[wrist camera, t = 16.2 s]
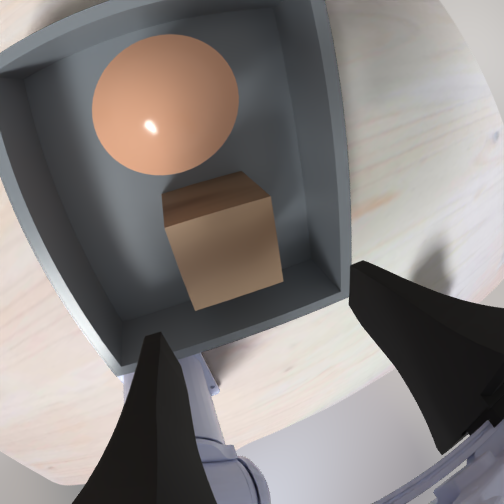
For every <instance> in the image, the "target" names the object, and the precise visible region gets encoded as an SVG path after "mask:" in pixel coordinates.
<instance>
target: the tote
mask: <svg viewBox="0 0 504 504" xmlns="http://www.w3.org/2000/svg"><path fill="white" fill-rule="evenodd" d="M166 34H175V35H184V36H189V37H192V38H195V39H198V40H200V41H202V42H204V43H206V44H208V45H209V46H211V47H212V48H214V49H215V50H216V51H217V52H218V53H219V54H220V55H221V56H222V57H223V58H224V59H225V60H226V62H227V63H228V65H229V66H230V68H231V70H232V72H233V74H234V76H235V79H236V83H237V86H238V94H239V106H238V113H237V117H236V121H235V124H234V126H233V128H232V131H231V133H230V134H229V136H228V138H227V140H226V141H225V142H224V144H223V145H222V146H221V147H220V148H219V150H218V151H217V152H216V153H215V154H214V155H212V156H211V157H210V158H209V159H208V160H206V161H204V162H203V163H201V164H200V165H198V166H196V167H194V168H192V169H190V170H187V171H184V172H181V173H176V174H171V175H149V174H144V173H140V172H136V171H134V170H132V169H129V168H127V167H125V166H124V165H122V164H120V163H119V162H118V161H116V160H115V159H114V158H113V157H112V156H111V155H110V154H109V153H108V152H107V151H106V150H105V148H104V147H103V145H102V144H101V142H100V140H99V138H98V136H97V134H96V131H95V128H94V123H93V118H92V103H93V96H94V92H95V88H96V86H97V83H98V80H99V79H100V77H101V75H102V73H103V71H104V70H105V68H106V67H107V66H108V64H109V63H110V62H111V61H112V60H113V59H114V58H115V57H116V56H117V55H118V54H119V53H120V52H122V51H123V50H124V49H126V48H127V47H129V46H130V45H132V44H134V43H136V42H138V41H140V40H143V39H146V38H149V37H152V36H157V35H166ZM239 171H242V172H243V173H245V174H246V175H247V176H248V177H249V178H250V179H252V180H253V181H254V182H255V183H256V184H257V185H258V186H260V187H261V188H262V189H263V190H264V191H265V192H266V193H268V194H269V195H270V196H271V201H272V207H273V214H274V220H275V227H276V233H277V240H278V247H279V254H280V261H281V268H282V275H283V282H281V283H278V284H275V285H272V286H269V287H266V288H263V289H260V290H257V291H254V292H251V293H248V294H245V295H242V296H239V297H236V298H233V299H230V300H227V301H224V302H221V303H218V304H215V305H212V306H209V307H206V308H203V309H200V310H197V311H195V309H194V307H193V304H192V302H191V299H190V297H189V294H188V291H187V289H186V286H185V284H184V281H183V278H182V276H181V273H180V270H179V267H178V265H177V262H176V259H175V256H174V254H173V251H172V248H171V245H170V242H169V239H168V237H167V234H166V231H165V227H164V217H163V207H162V195H161V194H163V193H166V192H170V191H173V190H176V189H179V188H182V187H186V186H189V185H192V184H196V183H199V182H203V181H206V180H210V179H213V178H217V177H220V176H224V175H228V174H232V173H235V172H239ZM0 177H1V180H2V182H3V185H4V188H5V190H6V193H7V195H8V198H9V200H10V203H11V205H12V207H13V210H14V212H15V214H16V217H17V219H18V221H19V223H20V225H21V228H22V230H23V232H24V234H25V236H26V238H27V240H28V242H29V244H30V246H31V248H32V250H33V252H34V254H35V256H36V258H37V259H38V261H39V263H40V265H41V267H42V269H43V270H44V272H45V274H46V276H47V277H48V279H49V281H50V283H51V284H52V286H53V288H54V289H55V291H56V293H57V294H58V296H59V298H60V299H61V301H62V302H63V304H64V305H65V307H66V309H67V310H68V312H69V313H70V315H71V316H72V318H73V319H74V321H75V322H76V324H77V325H78V327H79V328H80V329H81V331H82V332H83V334H84V335H85V336H86V338H87V339H88V341H89V342H90V343H91V345H92V346H93V347H94V349H95V350H96V351H97V353H98V354H99V355H100V357H101V358H102V359H103V360H104V362H105V363H106V364H107V366H108V367H109V368H110V369H111V371H112V372H113V373H114V374H115V375H116V377H117V376H121V375H125V374H129V373H133V372H135V369H136V366H137V362H138V359H139V355H140V351H141V347H142V344H143V340H144V338H145V336H147V335H151V334H154V333H157V332H162V334H163V336H164V337H165V339H166V341H167V343H168V344H169V346H170V348H171V350H172V351H173V353H174V355H175V356H176V358H177V360H178V359H182V358H185V357H188V356H191V355H195V354H198V353H201V352H204V351H207V350H210V349H213V348H216V347H219V346H222V345H225V344H228V343H231V342H234V341H237V340H240V339H243V338H246V337H248V336H251V335H254V334H257V333H259V332H262V331H265V330H268V329H270V328H273V327H276V326H278V325H281V324H284V323H286V322H289V321H291V320H294V319H297V318H299V317H302V316H304V315H307V314H309V313H312V312H314V311H317V310H319V309H321V308H324V307H326V306H329V305H331V304H334V303H336V302H338V301H341V300H343V299H345V298H348V297H349V285H350V265H351V201H350V180H349V164H348V151H347V139H346V129H345V119H344V110H343V102H342V94H341V87H340V80H339V73H338V66H337V60H336V54H335V49H334V43H333V38H332V32H331V27H330V22H329V18H328V13H327V8H326V4H325V0H109V1H106V2H103V3H100V4H98V5H95V6H92V7H90V8H87V9H85V10H82V11H80V12H77V13H75V14H72V15H70V16H68V17H66V18H63V19H61V20H59V21H57V22H55V23H53V24H51V25H49V26H47V27H45V28H43V29H41V30H39V31H37V32H35V33H33V34H31V35H29V36H28V37H26V38H24V39H22V40H21V41H19V42H17V43H15V44H14V45H12V46H10V47H9V48H7V49H6V50H4V51H2V52H1V53H0Z"/></svg>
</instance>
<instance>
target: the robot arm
mask: <svg viewBox="0 0 504 504" xmlns="http://www.w3.org/2000/svg"><path fill="white" fill-rule="evenodd" d="M349 306H350V308H351V309H352V311H353V313H354V314H355V316H356V318H357V319H358V321H359V322H360V324H361V325H362V327H363V328H364V329H365V330H366V331H367V333H368V334H369V335H370V336H371V338H372V339H373V340H374V341H375V342H376V344H377V345H378V346H379V347H380V349H381V350H382V351H383V352H384V353H385V355H386V356H387V357H388V358H389V360H390V361H391V362H392V363H393V365H394V366H395V367H396V369H397V370H398V372H399V373H400V375H401V376H402V378H403V380H404V381H405V383H406V385H407V386H408V388H409V390H410V391H411V393H412V395H413V397H414V398H415V400H416V402H417V404H418V406H419V408H420V410H421V412H422V414H423V416H424V418H425V420H426V422H427V425H428V427H429V429H430V432H431V434H432V437H433V439H434V442H435V445H436V448H437V449H438V451H439V452H440V453H441V454H442V455H443V454H444V453H446V452H447V451H448V450H449V449H451V448H452V447H453V446H454V445H456V444H457V443H458V442H459V441H461V440H462V439H463V438H464V437H465V436H466V435H468V434H469V435H470V437H468V438H467V439H466V440H465V441H464V442H463V443H461V444H460V445H459V446H458V447H457V448H455V449H454V450H453V451H452V452H451V453H449V454H448V455H447V456H445V457H444V458H443V459H441V460H440V461H439V462H437V463H436V464H435V465H434V466H432V467H430V468H429V469H428V470H426V471H425V472H423V473H422V474H420V475H419V476H417V477H416V478H414V479H413V480H411V481H410V482H408V483H407V484H405V485H403V486H402V487H400V488H399V489H397V490H395V491H394V492H392V493H390V494H389V495H387V496H385V497H383V498H382V499H380V500H378V501H376V502H374V503H372V504H406V503H407V502H409V501H411V500H412V499H414V498H415V497H417V496H418V495H420V494H421V493H423V492H424V491H426V490H427V489H429V488H430V487H431V486H433V485H434V484H436V483H437V482H438V481H440V480H441V479H442V478H444V477H445V476H446V475H448V474H449V473H450V472H451V471H453V470H454V469H455V468H456V467H457V466H459V465H460V464H461V463H462V462H464V461H465V460H466V459H467V465H466V466H465V467H464V468H462V469H461V470H460V471H458V472H457V473H455V474H454V475H453V476H451V477H450V478H449V479H447V480H446V481H445V482H444V483H443V484H441V485H440V486H439V487H438V488H436V489H435V490H434V492H433V493H434V494H435V496H436V497H437V498H436V499H434V500H433V501H431V502H430V503H428V504H504V308H498V307H491V306H485V305H481V304H476V303H472V302H468V301H464V300H460V299H457V298H454V297H450V296H447V295H444V294H441V293H438V292H436V291H433V290H431V289H428V288H425V287H423V286H421V285H418V284H416V283H413V282H411V281H409V280H407V279H404V278H402V277H400V276H398V275H395V274H393V273H391V272H389V271H387V270H384V269H382V268H380V267H378V266H376V265H373V264H371V263H369V262H366V261H364V260H363V261H360V262H358V263H355V264H353V265H350V285H349ZM117 377H118V378H119V379H120V380H121V382H122V383H123V387H124V407H123V410H122V412H121V415H120V418H119V420H118V423H117V425H116V428H115V430H114V432H113V435H112V437H111V439H110V441H109V443H108V445H107V447H106V449H105V451H104V453H103V455H102V457H101V459H100V461H99V463H98V465H97V466H96V468H95V470H94V471H93V473H92V475H91V476H90V478H89V480H88V481H87V483H86V484H85V486H84V488H83V489H82V490H81V492H80V493H79V494H78V496H77V497H76V499H75V500H74V501H73V503H72V504H271V500H270V492H269V488H268V485H267V482H266V480H265V478H264V476H263V474H262V472H261V471H260V470H259V468H258V467H257V466H256V465H255V464H254V463H253V462H252V461H250V460H249V459H248V458H246V457H243V456H237V454H236V451H235V448H234V445H225V441H224V437H223V434H222V431H221V428H220V424H219V421H218V418H217V414H216V411H215V407H214V404H213V401H212V397H211V396H213V395H216V394H218V393H219V392H220V389H219V387H218V385H217V383H216V381H215V379H214V377H213V375H212V373H211V371H210V369H209V367H208V365H207V363H206V361H205V359H204V357H203V355H202V353H198V354H195V355H191V356H188V357H185V358H182V359H178V360H177V358H176V356H175V355H174V353H173V351H172V350H171V348H170V346H169V344H168V343H167V341H166V339H165V337H164V336H163V334H162V332H157V333H154V334H151V335H147V336H145V338H144V340H143V344H142V347H141V351H140V355H139V359H138V362H137V366H136V369H135V372H133V373H129V374H125V375H121V376H117Z"/></svg>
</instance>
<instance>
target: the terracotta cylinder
mask: <svg viewBox="0 0 504 504" xmlns="http://www.w3.org/2000/svg"><path fill="white" fill-rule="evenodd" d="M238 106H239V94H238V86H237V83H236V79H235V76H234V74H233V72H232V70H231V68H230V66H229V65H228V63H227V62H226V60H225V59H224V58H223V57H222V56H221V55H220V54H219V53H218V52H217V51H216V50H215V49H214V48H212V47H211V46H209V45H208V44H206V43H204V42H202V41H200V40H198V39H195V38H192V37H189V36H184V35H175V34H166V35H157V36H152V37H149V38H146V39H143V40H140V41H138V42H136V43H134V44H132V45H130V46H129V47H127V48H126V49H124V50H123V51H122V52H120V53H119V54H118V55H117V56H116V57H115V58H114V59H113V60H112V61H111V62H110V63H109V64H108V66H107V67H106V68H105V70H104V71H103V73H102V75H101V77H100V79H99V80H98V83H97V86H96V88H95V92H94V96H93V103H92V118H93V123H94V128H95V131H96V134H97V136H98V138H99V140H100V142H101V144H102V145H103V147H104V148H105V150H106V151H107V152H108V153H109V154H110V155H111V156H112V157H113V158H114V159H115V160H116V161H118V162H119V163H120V164H122V165H124V166H125V167H127V168H129V169H132V170H134V171H136V172H140V173H144V174H149V175H171V174H176V173H181V172H184V171H187V170H190V169H192V168H194V167H196V166H198V165H200V164H201V163H203V162H204V161H206V160H208V159H209V158H210V157H211V156H212V155H214V154H215V153H216V152H217V151H218V150H219V148H220V147H221V146H222V145H223V144H224V142H225V141H226V140H227V138H228V136H229V134H230V133H231V131H232V128H233V126H234V124H235V121H236V117H237V113H238Z"/></svg>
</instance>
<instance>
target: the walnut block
mask: <svg viewBox="0 0 504 504" xmlns="http://www.w3.org/2000/svg"><path fill="white" fill-rule="evenodd" d="M161 195H162V207H163V217H164V227H165V231H166V234H167V237H168V239H169V242H170V245H171V248H172V251H173V254H174V256H175V259H176V262H177V265H178V267H179V270H180V273H181V276H182V278H183V281H184V284H185V286H186V289H187V291H188V294H189V297H190V299H191V302H192V304H193V307H194V309H195V311H197V310H200V309H203V308H206V307H209V306H212V305H215V304H218V303H221V302H224V301H227V300H230V299H233V298H236V297H239V296H242V295H245V294H248V293H251V292H254V291H257V290H260V289H263V288H266V287H269V286H272V285H275V284H278V283H281V282H283V275H282V268H281V261H280V254H279V247H278V240H277V233H276V227H275V220H274V214H273V207H272V201H271V196H270V195H269V194H268V193H266V192H265V191H264V190H263V189H262V188H261V187H260V186H258V185H257V184H256V183H255V182H254V181H253V180H252V179H250V178H249V177H248V176H247V175H246V174H245V173H243V172H242V171H239V172H235V173H232V174H228V175H224V176H220V177H217V178H213V179H210V180H206V181H203V182H199V183H196V184H192V185H189V186H186V187H182V188H179V189H176V190H173V191H170V192H166V193H163V194H161Z"/></svg>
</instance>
